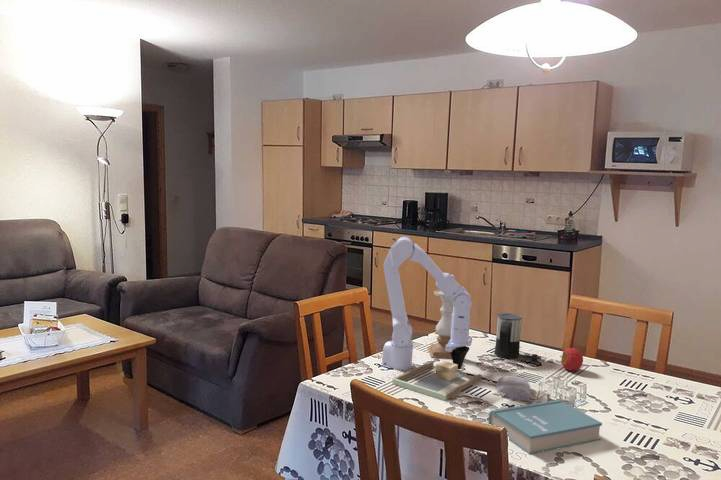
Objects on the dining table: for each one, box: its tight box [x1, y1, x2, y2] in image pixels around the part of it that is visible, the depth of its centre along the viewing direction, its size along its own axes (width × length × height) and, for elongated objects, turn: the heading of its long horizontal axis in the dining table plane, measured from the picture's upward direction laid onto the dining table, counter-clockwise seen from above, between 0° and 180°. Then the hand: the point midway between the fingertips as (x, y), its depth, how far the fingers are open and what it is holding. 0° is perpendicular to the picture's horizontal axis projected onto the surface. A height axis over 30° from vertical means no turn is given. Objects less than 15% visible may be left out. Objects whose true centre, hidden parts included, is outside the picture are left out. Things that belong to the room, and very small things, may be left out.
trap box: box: [392, 360, 482, 402], centre depth 174 cm, size 18×23×3 cm
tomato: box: [559, 347, 584, 372], centre depth 194 cm, size 8×8×8 cm
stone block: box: [495, 375, 531, 402], centre depth 172 cm, size 12×5×10 cm
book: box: [488, 399, 603, 455], centre depth 146 cm, size 23×16×5 cm
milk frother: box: [493, 312, 542, 362], centre depth 204 cm, size 14×16×15 cm
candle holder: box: [427, 289, 453, 360], centre depth 200 cm, size 11×11×24 cm
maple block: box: [434, 360, 459, 381], centre depth 178 cm, size 5×5×4 cm
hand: (457, 368), depth 184 cm, fingers closed
